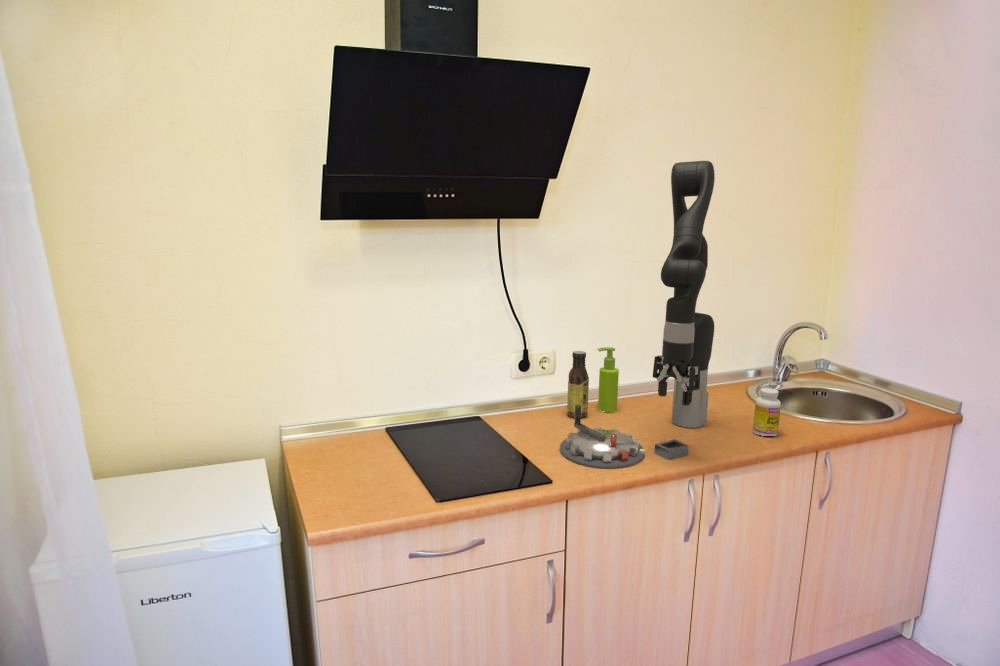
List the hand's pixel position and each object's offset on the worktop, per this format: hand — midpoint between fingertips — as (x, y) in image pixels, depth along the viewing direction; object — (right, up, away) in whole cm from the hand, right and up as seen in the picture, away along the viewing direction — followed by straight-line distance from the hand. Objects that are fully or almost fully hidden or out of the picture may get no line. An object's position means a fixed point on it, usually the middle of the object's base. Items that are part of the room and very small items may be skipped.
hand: (673, 400), depth 166 cm
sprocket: (-18, -13, +5) cm, 23 cm away
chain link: (0, -14, +3) cm, 15 cm away
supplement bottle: (+31, -12, +18) cm, 37 cm away
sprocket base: (-18, -14, +4) cm, 23 cm away
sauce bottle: (-21, -8, +32) cm, 39 cm away
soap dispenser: (-11, -7, +37) cm, 39 cm away
